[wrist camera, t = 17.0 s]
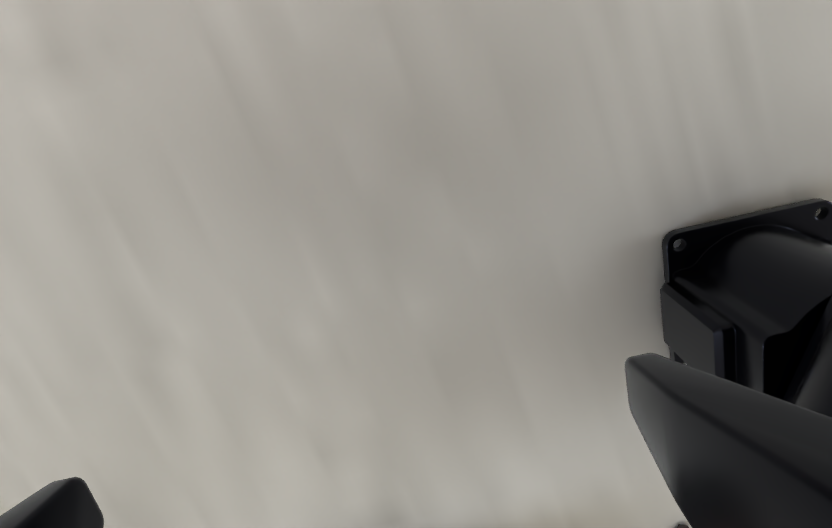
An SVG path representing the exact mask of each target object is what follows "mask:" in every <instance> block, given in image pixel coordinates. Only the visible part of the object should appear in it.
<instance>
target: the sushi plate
mask: <svg viewBox="0 0 832 528" xmlns="http://www.w3.org/2000/svg"><path fill="white" fill-rule="evenodd" d="M677 528H689V527H688V526H686V525H678V527H677Z"/></svg>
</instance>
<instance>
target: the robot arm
mask: <svg viewBox="0 0 832 528" xmlns="http://www.w3.org/2000/svg"><path fill="white" fill-rule="evenodd" d="M819 208H821V211H820V213H819V215H818V216H816V217H815V214H816V211H817V210H818V209H819ZM678 239H681V244H680V245H679V246H678V247H676V248H673V245H674V242H675V241H676V240H678ZM662 249H663V263H664V277H665V283H664V284H663V286H662V288H661V289H660V294H661V307H662V320H663V333H664V341H665V343H666V344H667V345H668V346H669V347H670V358H671V359H668V358H665V357H663V356H660V355H657V354H654V353H646V354H642V355H637V356H633V357H629V358H628V359H627V360H626V362H625V373H626V382H627V392H628V401H629V406H630V410H631V413H632V415H633V418H634V420H635V422H636V424H637V426H638V428H639V430H640V432H641V434H642V436H643V438H644V440H645V442H646V444H647V446H648V448H649V450H650V452H651V454H652V456H653V458H654V460H655V462H656V464H657V466H658V468H659V470H660V472H661V474H662V476H663V478H664V480H665V482H666V484H667V486H668V488H669V490H670V492H671V493H672V495H673V497H674V499H675V501H676V503H677V504H678V506H679V508H680V509H681V511H682V512H683V514H684V516H685V517H686V519H687V520H688V522H689V523H690V525H691V527H692V528H832V203H831V202H829V201H826V200H823V199H811V200H807V201H802V202H798V203H793V204H789V205H784V206H780V207H775V208H771V209H766V210H762V211H758V212H753V213H749V214H744V215H740V216H735V217H731V218H726V219H722V220H717V221H713V222H708V223H704V224H699V225H695V226H690V227H686V228H681V229H677V230H673V231H671V232H669V233H668V234H666V235H665V237H664V239H663V242H662ZM684 362H685V363H686V364H687V365H685V364H683V363H684ZM103 526H104V519H103V515H102V512H101V510H100V508H99V506H98V505H97V503H96V501H95V499H94V497H93V495H92V493H91V492H90V490H89V488H88V486H87V484H86V483H85V481H84V480H82V479H81V478H78V477H72V478H68V479H63V480H58V481H54V482H52V483H50V484H48V485H47V486H45V487H44V488H42V489H41V490H39V491H37V492H36V493H34V494H33V495H31V496H30V497H28V498H27V499H25V500H24V501H22V502H21V503H19V504H18V505H16V506H15V507H13V508H12V509H10V510H9V511H7V512H6V513H4V514H2V515H1V516H0V528H103Z"/></svg>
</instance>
